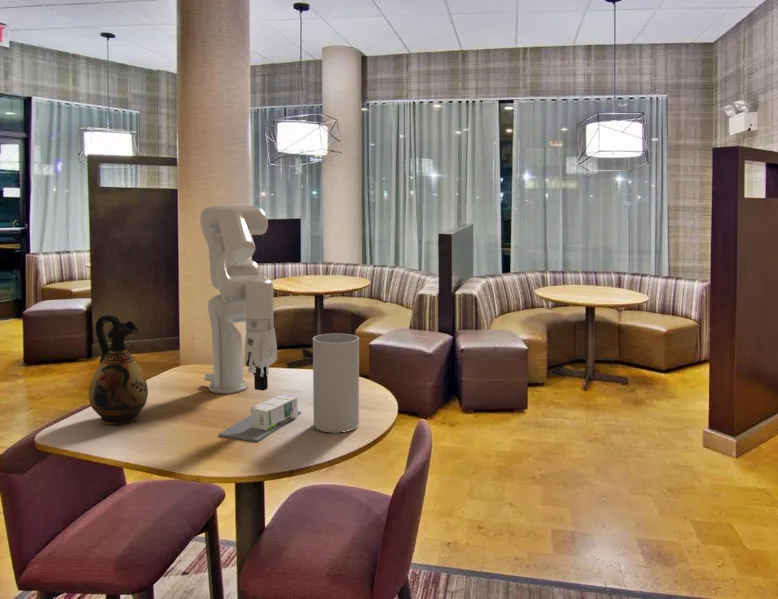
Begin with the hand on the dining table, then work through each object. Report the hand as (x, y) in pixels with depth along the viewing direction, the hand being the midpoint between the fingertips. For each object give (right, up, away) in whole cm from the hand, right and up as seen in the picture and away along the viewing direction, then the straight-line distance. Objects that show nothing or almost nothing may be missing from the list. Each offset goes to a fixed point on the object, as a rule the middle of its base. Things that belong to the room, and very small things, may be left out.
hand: (261, 389), depth 175 cm
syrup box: (0, -8, -5) cm, 9 cm away
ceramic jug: (-41, -9, +4) cm, 43 cm away
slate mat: (0, -10, +1) cm, 10 cm away
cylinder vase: (+21, -11, +1) cm, 23 cm away
